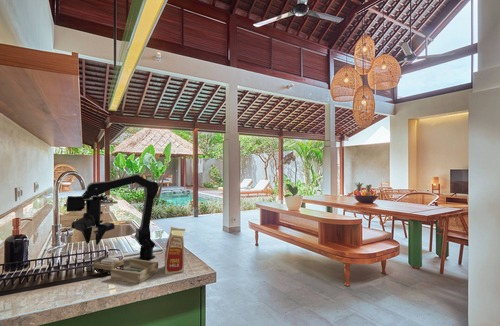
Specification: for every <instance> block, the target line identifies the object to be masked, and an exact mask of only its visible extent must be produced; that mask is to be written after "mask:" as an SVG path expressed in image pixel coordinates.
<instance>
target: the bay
mask: <svg viewBox="0 0 500 326" xmlns="http://www.w3.org/2000/svg"><path fill="white" fill-rule="evenodd" d="M128 269H132V270H138V271H141V272H137V271H130V270H122V269H111V273H110V274H111V275H110V280H116V281H122V282H126V281H127V283H132V282H133V284H139V283H140V284H142V283H143V282H145V281H146V280H147V279H149V278H150V277H151V276H153V275H154V274H156V273H157V272H158V271H159V262H158V261H152V260H149V261H146V260H139V259H137V258H130V259H129V268H128Z"/></svg>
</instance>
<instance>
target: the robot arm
mask: <svg viewBox="0 0 500 326" xmlns="http://www.w3.org/2000/svg"><path fill="white" fill-rule="evenodd" d="M133 184H137V185H139V186H142V187H143V194H144V201H143V202H144V203H143V208H142V214H141V221H140V225H139V228H135V233H134V237H135V240H136V242H137V243H138V244H139V245H140V247H139V249H140V250H139V257H138V258H136V259H139V260H146V261H152V259H154V258H156V255H154V247H155V245H156V243H155V242H154V241H153V240H152V239H151V228H150V227H151V225H150V224H151V218H152V214H153V206H154V201H155V197H156V196H157V193H158V191H159V186H160V185H159V184H158V183H157V182H156V181H153V180H148V179H146V178H145V177H142V176H141V175H139V174H135V173H134V174H133V175H128V176H125V177H120V178H118V179H113V180H109V181H95V182H90V183H89V184H88V185H87V186H86V190H85V191H84V193H82V194H81V195H79V196H78V195H76V196H75V195H74V196H73V195H68V196H67V201H66V213H71V212H82V211H83V210H84V209H86V212H84V213H83V214H82V217H81V218H79V219H77V220H74V221H72V223H71V225H70V226H71V229H75V231H79V232H81V234H82V235H83V238H84V240H85V243H86V244H90V241H91V236H92V231H93V233H94V234H95V245H96V246H98V245H99V244H100V242H101V240H102V238H103V236H104V235H105V233H106V232H109V231H113V230H115V224H114V223H113V222H109V221H108V222H107V221H106V222H103V220H102V219H101V217H102V216H101V215H103V213H104V212H103V211H101V210H102V209H101V208H102V207H101V206H102V201H106V200H107V199H106V197H104V195H103V194H104V193H107V192H108V191H110V190H113V189H117V188H121V187H125V186H127V185H128V186H129V185H133ZM85 207H86V208H85ZM93 228H94V229H96V230H93Z"/></svg>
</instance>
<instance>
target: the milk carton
mask: <svg viewBox="0 0 500 326" xmlns="http://www.w3.org/2000/svg"><path fill="white" fill-rule="evenodd" d="M185 231H186V228H180V227H174V226H170V232H169V236H168V239H167V242H166V245H165V246H166V247H165V251H164V252H165V253H164V272H165V275H172V274H177V273H178V274H179V273H184V272H185V242H184V236H185V235H184V234H185Z"/></svg>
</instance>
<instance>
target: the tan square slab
mask: <svg viewBox="0 0 500 326" xmlns="http://www.w3.org/2000/svg"><path fill="white" fill-rule="evenodd" d="M124 264H125V259H120V258H119V257H118V258H117V257H113V256H112V257H111V256H107V255H102V256H99V257H98V258H96V259H94V260H93V263H92V264H91V266H92V267H91V268H93V271H94V270H96V271H97V270H98V271H99V270H106V273H107V272H109V273H110V274H111V269H115V268H117V267H121V268H123V265H124Z"/></svg>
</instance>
